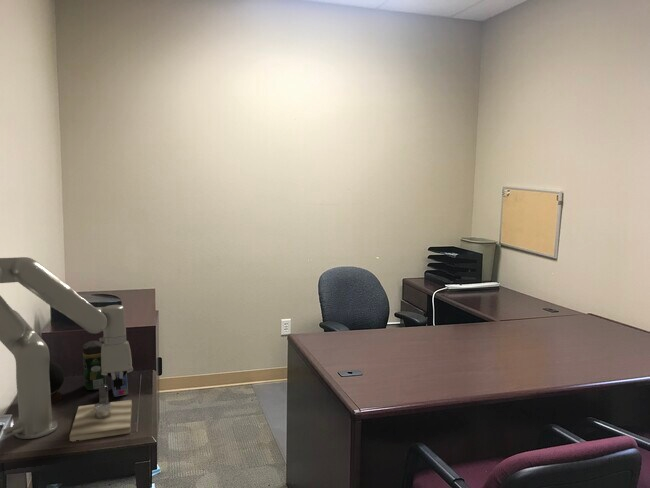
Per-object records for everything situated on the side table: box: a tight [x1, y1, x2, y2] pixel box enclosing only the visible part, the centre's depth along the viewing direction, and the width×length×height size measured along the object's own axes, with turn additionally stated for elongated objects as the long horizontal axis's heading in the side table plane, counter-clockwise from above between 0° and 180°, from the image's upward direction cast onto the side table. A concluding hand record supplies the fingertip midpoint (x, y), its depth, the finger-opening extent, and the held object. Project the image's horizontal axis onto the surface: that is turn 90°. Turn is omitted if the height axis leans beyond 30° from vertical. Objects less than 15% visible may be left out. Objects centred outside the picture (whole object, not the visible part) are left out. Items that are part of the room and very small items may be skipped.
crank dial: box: [94, 384, 111, 419], centre depth 182 cm, size 13×5×7 cm, turn 21°
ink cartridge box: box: [110, 372, 129, 398], centre depth 205 cm, size 10×6×14 cm, turn 27°
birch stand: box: [69, 399, 133, 442], centre depth 178 cm, size 24×18×2 cm
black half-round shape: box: [49, 360, 65, 405], centre depth 197 cm, size 13×13×15 cm
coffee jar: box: [82, 340, 107, 391], centre depth 210 cm, size 10×8×19 cm
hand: (118, 388), depth 188 cm, fingers closed
